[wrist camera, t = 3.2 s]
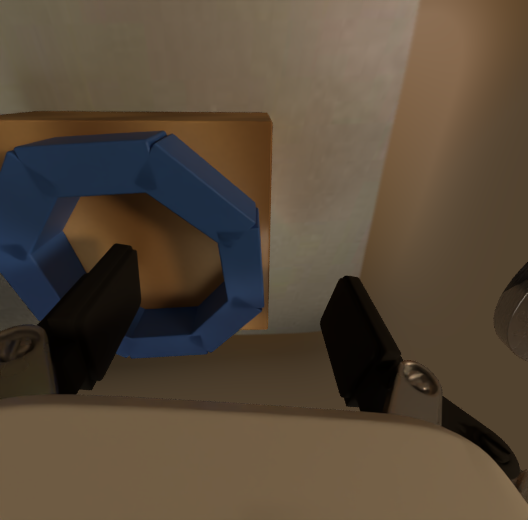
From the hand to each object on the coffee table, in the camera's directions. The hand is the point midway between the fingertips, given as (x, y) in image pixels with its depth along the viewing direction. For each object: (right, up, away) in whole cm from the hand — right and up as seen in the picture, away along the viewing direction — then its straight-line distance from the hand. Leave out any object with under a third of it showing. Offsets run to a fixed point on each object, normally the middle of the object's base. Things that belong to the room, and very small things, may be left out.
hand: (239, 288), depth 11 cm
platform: (-4, +4, +4) cm, 7 cm away
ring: (-4, +2, +1) cm, 5 cm away
